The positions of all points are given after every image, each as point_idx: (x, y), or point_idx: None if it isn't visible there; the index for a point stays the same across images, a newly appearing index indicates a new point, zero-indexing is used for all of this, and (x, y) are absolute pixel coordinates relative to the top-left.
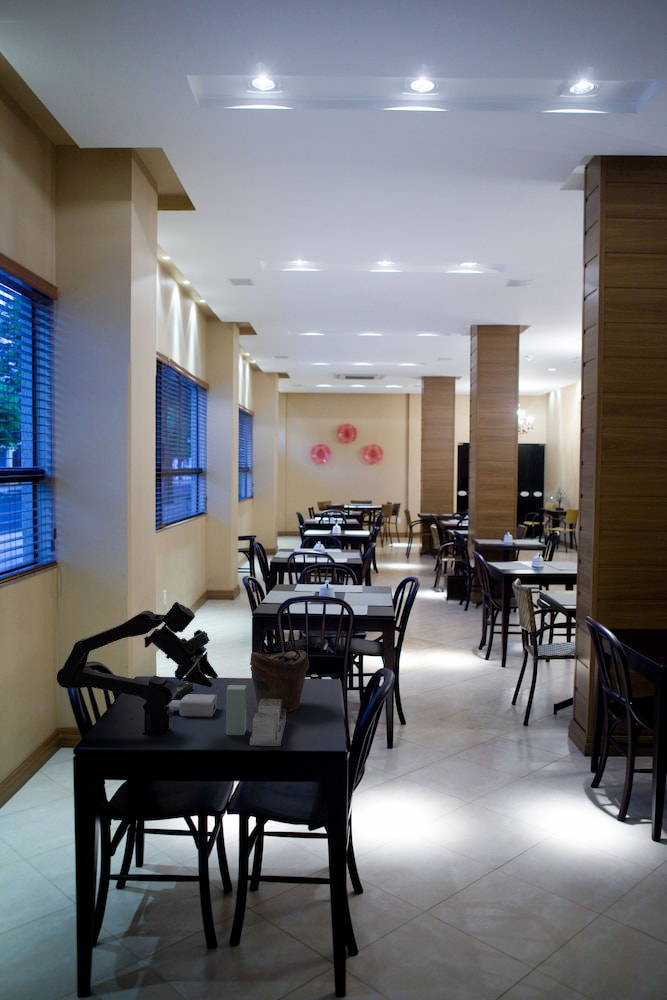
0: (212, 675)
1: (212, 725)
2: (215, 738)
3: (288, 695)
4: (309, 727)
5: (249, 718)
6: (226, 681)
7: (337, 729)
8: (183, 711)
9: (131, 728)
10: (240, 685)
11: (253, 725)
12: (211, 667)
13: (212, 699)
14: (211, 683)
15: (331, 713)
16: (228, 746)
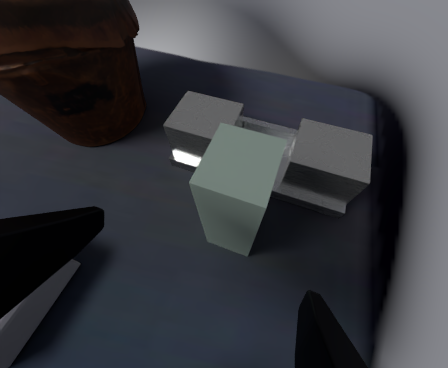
0: (77, 241)
1: (155, 276)
2: (271, 292)
3: (138, 78)
4: (245, 101)
5: (145, 177)
6: None
7: (267, 74)
8: (2, 363)
9: None
10: (216, 141)
11: (361, 188)
12: (16, 229)
13: None
14: (324, 301)
15: (185, 63)
16: (342, 270)
